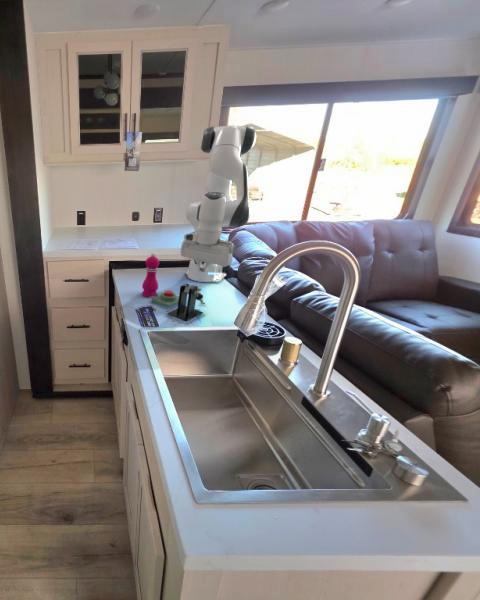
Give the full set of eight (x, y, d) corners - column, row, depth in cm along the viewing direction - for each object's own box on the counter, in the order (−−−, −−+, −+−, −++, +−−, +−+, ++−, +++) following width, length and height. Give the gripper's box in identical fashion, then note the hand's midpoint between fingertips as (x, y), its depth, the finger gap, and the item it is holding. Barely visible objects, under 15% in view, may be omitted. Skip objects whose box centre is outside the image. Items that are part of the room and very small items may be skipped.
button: (167, 293, 140) (168, 289, 139) (174, 295, 137) (175, 292, 136) (162, 295, 138) (163, 291, 137) (169, 297, 135) (170, 294, 134)
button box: (166, 296, 145) (167, 288, 144) (183, 302, 139) (184, 294, 137) (151, 303, 139) (152, 294, 137) (168, 309, 132) (169, 301, 131)
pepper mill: (157, 298, 143) (161, 256, 135) (141, 297, 145) (144, 255, 136) (157, 292, 150) (161, 251, 142) (141, 291, 151) (145, 251, 143)
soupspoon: (199, 289, 156) (185, 289, 157) (199, 282, 154) (186, 282, 155) (210, 305, 135) (194, 305, 136) (211, 298, 134) (195, 298, 135)
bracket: (183, 307, 134) (187, 279, 129) (203, 315, 128) (208, 285, 123) (166, 316, 127) (170, 286, 122) (186, 324, 121) (190, 293, 116)
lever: (195, 299, 132) (198, 292, 132) (202, 301, 130) (205, 294, 130) (181, 292, 123) (185, 284, 123) (189, 294, 121) (192, 287, 121)
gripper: (238, 240, 115) (231, 276, 120) (189, 232, 129) (185, 264, 135) (230, 243, 111) (223, 280, 117) (180, 234, 125) (176, 267, 131)
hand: (202, 271), depth 126 cm, fingers closed
